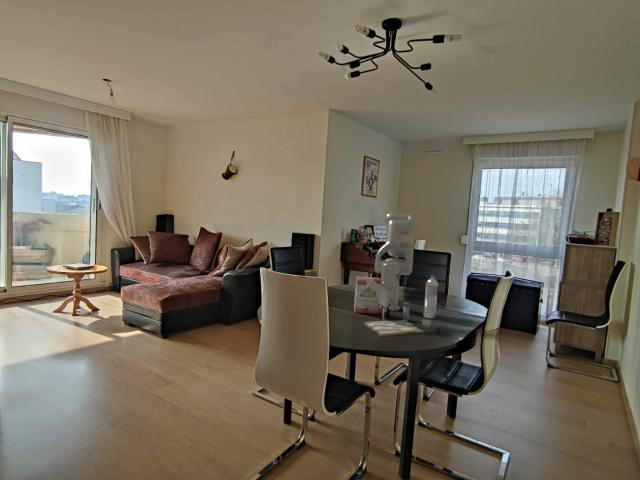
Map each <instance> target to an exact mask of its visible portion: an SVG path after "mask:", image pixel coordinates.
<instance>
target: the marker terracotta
mask: <svg viewBox="0 0 640 480" xmlns="http://www.w3.org/2000/svg"><path fill="white" fill-rule="evenodd" d="M388 308H389V307H388ZM388 308H387V309H388ZM384 312H385V307H384V306H383V312H382V317H381V321H389V319H384Z"/></svg>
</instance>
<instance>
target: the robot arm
mask: <svg viewBox="0 0 640 480" xmlns="http://www.w3.org/2000/svg"><path fill="white" fill-rule="evenodd" d="M384 218H385V225H386V235H385V242H384V244H383V245H382V246H381V247H380V248H379V249H378V250H377V252H376V255H375V261H374V271H375V273H377V274H380V275H381V276H380V279H381V285H380V290H379V296H378V303H379V308H380V317H381V318H382V312H383V306H384V307H385V312H384V319H388V320H390V318H391V317H390V316H391V311H399V310H400V308H401V307H400V306H399V305H398V302H399V292H400V291H399V290H400V279H399V278H398V276H397V275H403V276H410V275H411V274H412V272H413V261H414V245H413V243H411V242H408V241H407V242H405V241H403V235H408V236H409V235H412V232H413V230H414V229H413V228H414V224H415V216H414V215H413V214H411V213H400V212H390V213H387V214H386V215H385V217H384ZM386 253H387V254H388V255H389V256H391V258H390V257H389V258H386V259H383V260H382V256H383V255H384V254H386ZM393 257H396V258H393ZM397 257H398V258H397ZM403 258H404V259H403ZM388 307H389V308H388ZM387 308H388V309H387Z"/></svg>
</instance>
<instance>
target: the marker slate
mask: <svg viewBox="0 0 640 480" xmlns="http://www.w3.org/2000/svg"><path fill="white" fill-rule="evenodd" d="M410 308H411V303H410V302H409V301H408V302H407V301H405V302H403V309H402V310H403V312H402V320H405V321H406V322H408V321H409V319H410V318H409V317H410Z"/></svg>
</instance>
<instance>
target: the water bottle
mask: <svg viewBox="0 0 640 480" xmlns="http://www.w3.org/2000/svg"><path fill="white" fill-rule="evenodd" d="M438 286H439V283H438V281H437V279H436V278H435V275H432V274H431V275H430V278H429V279H427V280H426V282H425V293H424V294H425V295H424V302H423V303H424V304H423V317H424V318H426V319H428V320H431V319H432V320H433V319H436V313H437V312H436V311H437V303H438V301H437V300H438Z"/></svg>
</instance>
